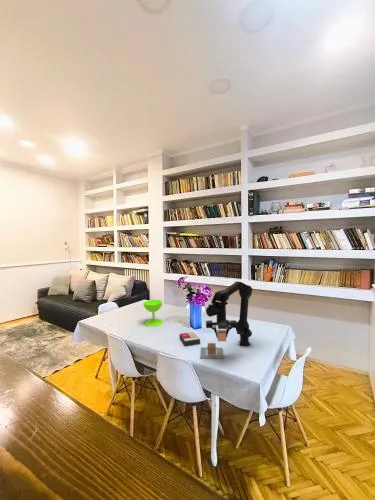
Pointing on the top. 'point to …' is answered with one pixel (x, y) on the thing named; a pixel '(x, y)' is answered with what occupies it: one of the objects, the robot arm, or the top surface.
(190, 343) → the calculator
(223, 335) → the top block
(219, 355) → the build plate
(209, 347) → the base block
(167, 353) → the top surface
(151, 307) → the wineglass
